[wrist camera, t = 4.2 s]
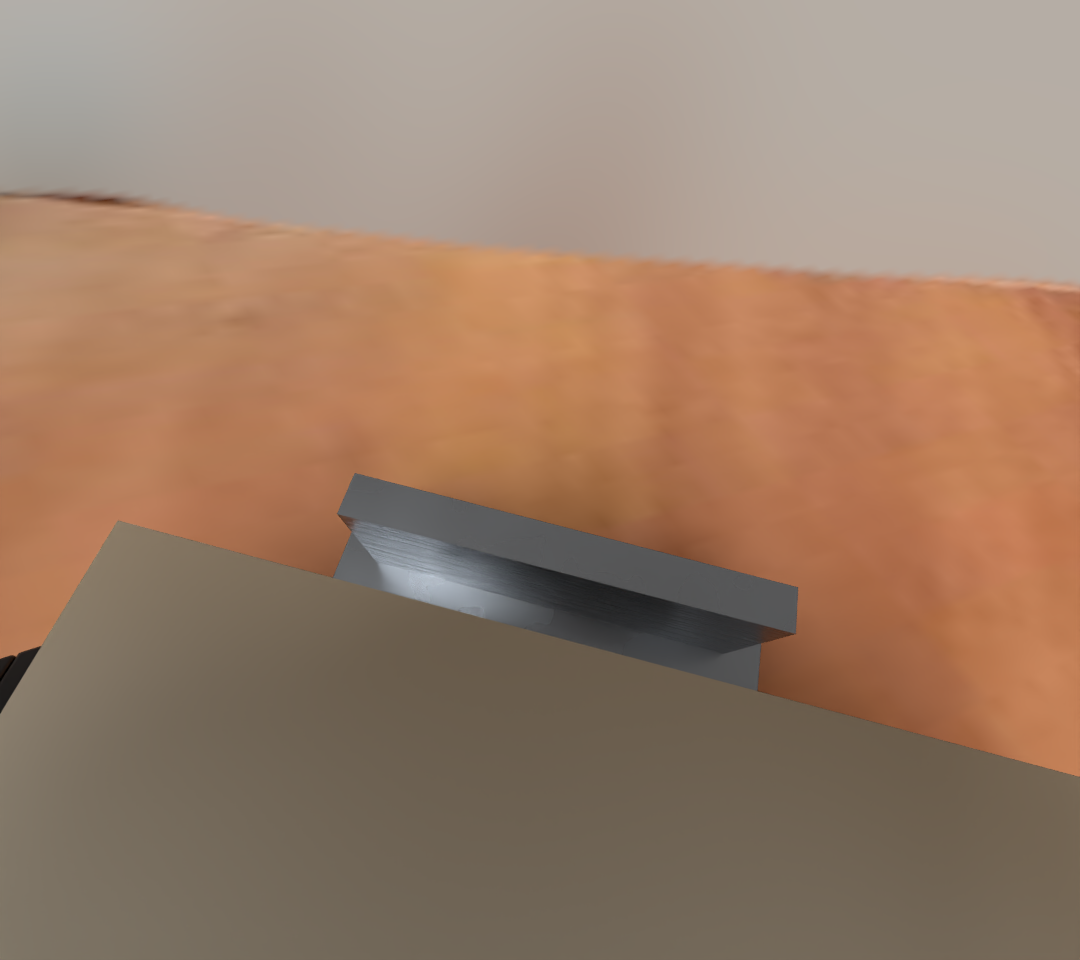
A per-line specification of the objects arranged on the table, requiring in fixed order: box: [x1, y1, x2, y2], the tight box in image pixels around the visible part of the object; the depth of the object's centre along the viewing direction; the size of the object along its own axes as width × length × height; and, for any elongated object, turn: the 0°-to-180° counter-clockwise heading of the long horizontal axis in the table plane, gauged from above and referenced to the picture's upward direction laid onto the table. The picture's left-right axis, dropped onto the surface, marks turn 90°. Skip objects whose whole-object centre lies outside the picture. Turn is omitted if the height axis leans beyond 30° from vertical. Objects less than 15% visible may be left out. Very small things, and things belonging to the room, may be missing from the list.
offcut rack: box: [333, 473, 798, 691], centre depth 11 cm, size 17×12×5 cm
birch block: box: [0, 521, 1080, 960], centre depth 8 cm, size 2×6×12 cm, turn 76°
